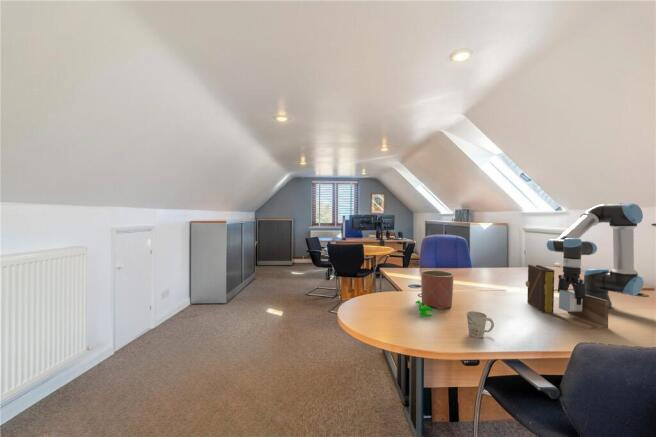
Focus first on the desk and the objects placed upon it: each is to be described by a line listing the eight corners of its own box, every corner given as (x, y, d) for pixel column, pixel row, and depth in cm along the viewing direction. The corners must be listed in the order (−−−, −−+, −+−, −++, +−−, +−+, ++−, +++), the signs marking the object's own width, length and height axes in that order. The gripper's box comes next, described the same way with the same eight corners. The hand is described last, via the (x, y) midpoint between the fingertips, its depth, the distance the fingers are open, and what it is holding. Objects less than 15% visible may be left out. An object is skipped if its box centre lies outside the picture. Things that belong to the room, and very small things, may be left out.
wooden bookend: (570, 314, 167) (571, 290, 167) (608, 328, 147) (608, 300, 147) (551, 315, 166) (552, 290, 166) (587, 329, 146) (587, 301, 146)
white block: (571, 308, 163) (572, 290, 163) (582, 311, 157) (583, 293, 156) (558, 308, 162) (559, 290, 162) (569, 312, 156) (569, 293, 156)
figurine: (410, 313, 164) (413, 297, 164) (430, 316, 166) (433, 300, 166) (415, 317, 158) (418, 300, 158) (435, 320, 159) (438, 304, 160)
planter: (459, 306, 180) (459, 274, 180) (440, 311, 170) (441, 277, 169) (432, 298, 196) (433, 269, 196) (414, 303, 185) (414, 272, 185)
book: (557, 313, 169) (558, 270, 168) (540, 312, 170) (541, 270, 170) (537, 302, 190) (538, 264, 190) (523, 301, 192) (524, 263, 192)
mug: (462, 332, 140) (463, 311, 140) (487, 331, 142) (487, 311, 141) (472, 339, 132) (473, 317, 132) (499, 338, 133) (499, 317, 133)
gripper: (550, 263, 168) (549, 303, 168) (583, 269, 149) (581, 314, 149) (561, 263, 169) (560, 302, 169) (596, 269, 150) (594, 314, 150)
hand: (570, 308), depth 159 cm, fingers closed on white block, 6 cm apart
